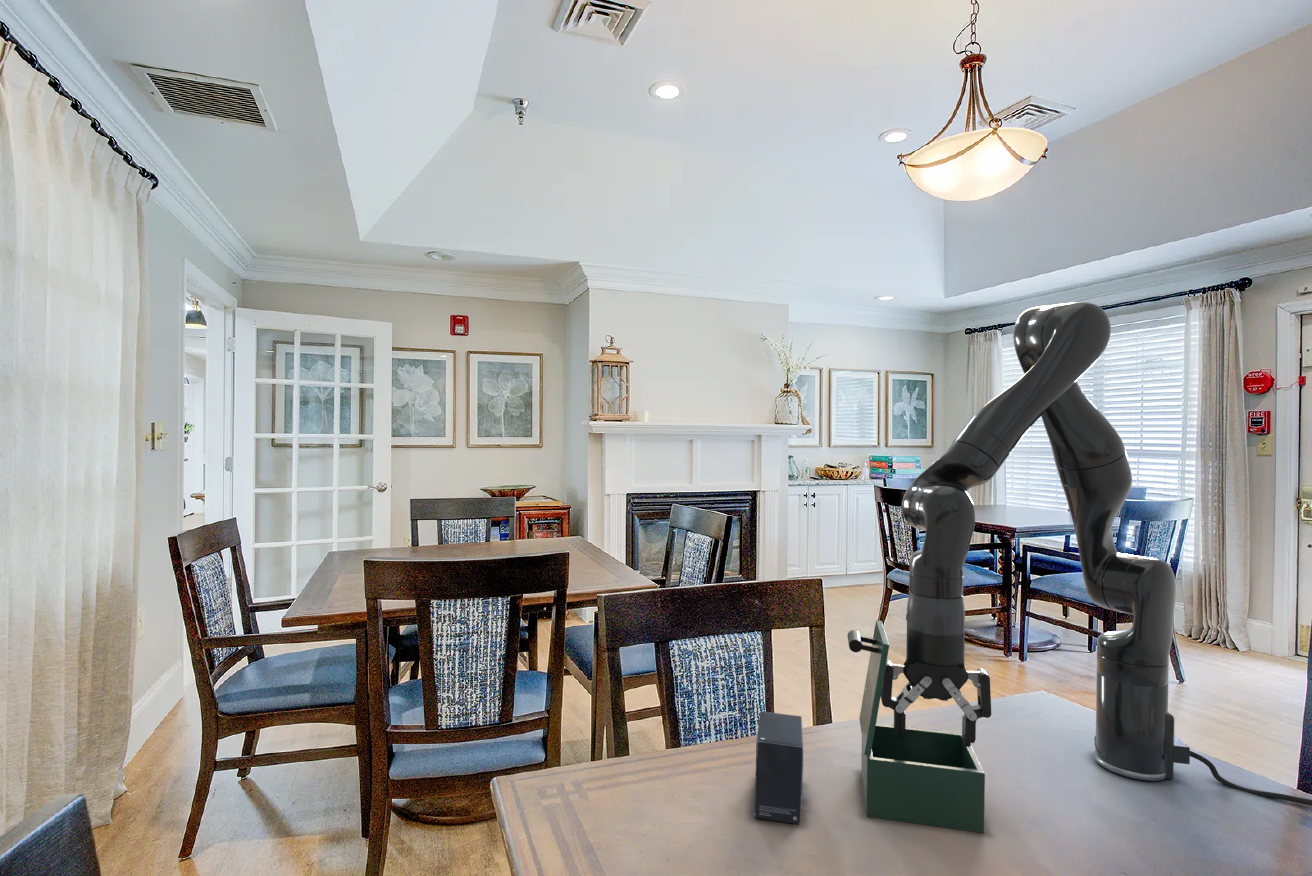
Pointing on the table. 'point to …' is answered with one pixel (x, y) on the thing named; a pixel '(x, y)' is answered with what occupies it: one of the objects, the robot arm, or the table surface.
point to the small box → (779, 768)
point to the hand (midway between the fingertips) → (933, 740)
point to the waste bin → (923, 779)
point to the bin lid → (871, 679)
